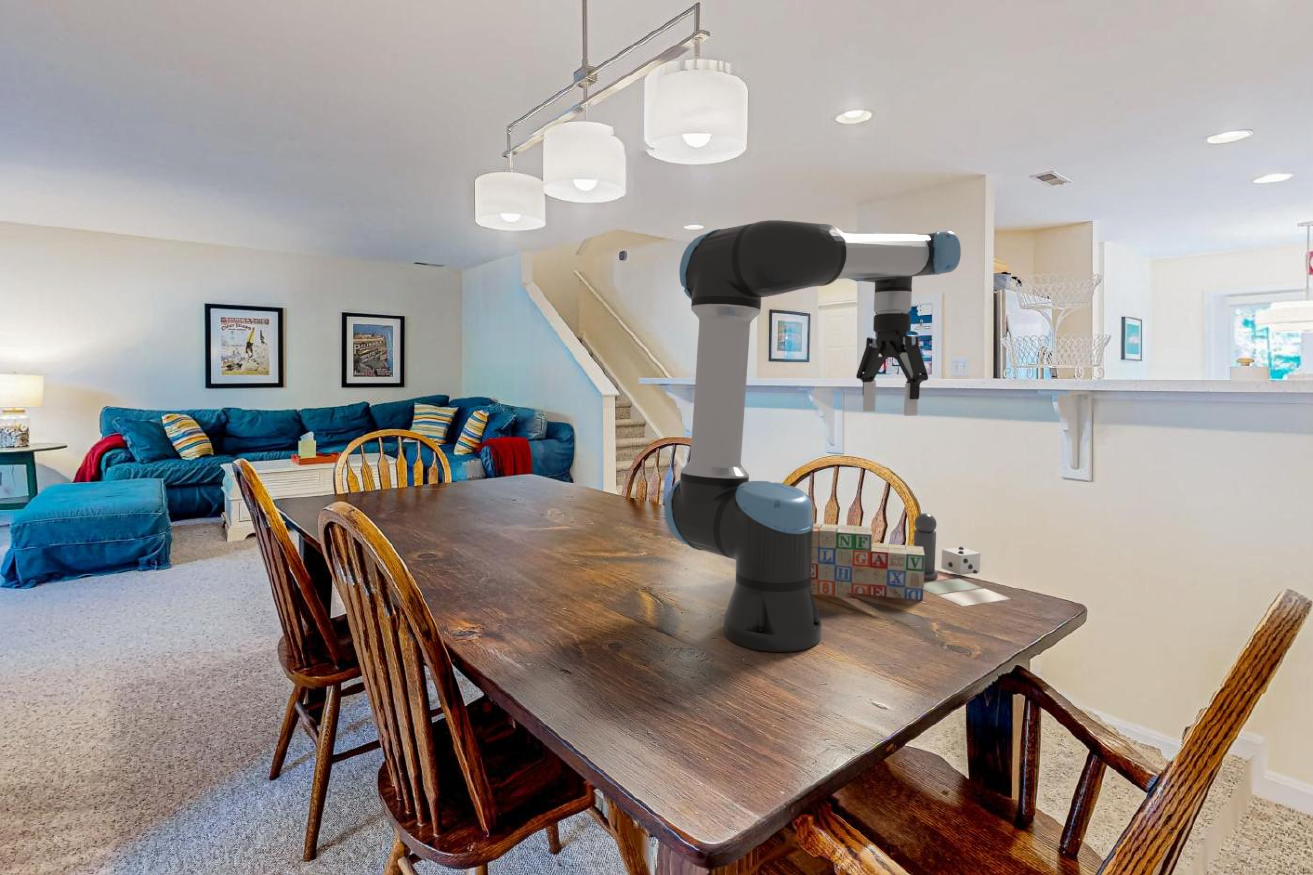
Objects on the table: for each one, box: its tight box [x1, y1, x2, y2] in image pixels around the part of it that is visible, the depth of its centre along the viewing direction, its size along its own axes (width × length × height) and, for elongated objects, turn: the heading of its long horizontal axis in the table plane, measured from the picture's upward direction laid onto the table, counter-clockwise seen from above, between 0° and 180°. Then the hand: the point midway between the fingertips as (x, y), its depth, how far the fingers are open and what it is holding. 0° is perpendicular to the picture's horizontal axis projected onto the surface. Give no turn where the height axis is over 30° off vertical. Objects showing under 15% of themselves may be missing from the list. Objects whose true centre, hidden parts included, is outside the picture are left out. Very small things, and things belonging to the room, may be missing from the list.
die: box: [940, 546, 981, 576], centre depth 140 cm, size 6×6×6 cm
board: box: [923, 569, 1012, 607], centre depth 134 cm, size 12×26×1 cm, turn 20°
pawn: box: [913, 513, 938, 580], centre depth 136 cm, size 5×5×12 cm
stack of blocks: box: [811, 522, 925, 601], centre depth 129 cm, size 21×6×12 cm, turn 71°
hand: (888, 413), depth 150 cm, fingers open, 13 cm apart
